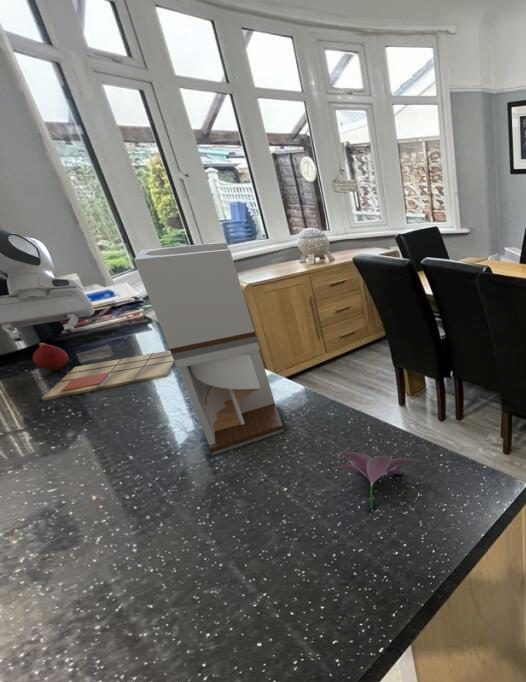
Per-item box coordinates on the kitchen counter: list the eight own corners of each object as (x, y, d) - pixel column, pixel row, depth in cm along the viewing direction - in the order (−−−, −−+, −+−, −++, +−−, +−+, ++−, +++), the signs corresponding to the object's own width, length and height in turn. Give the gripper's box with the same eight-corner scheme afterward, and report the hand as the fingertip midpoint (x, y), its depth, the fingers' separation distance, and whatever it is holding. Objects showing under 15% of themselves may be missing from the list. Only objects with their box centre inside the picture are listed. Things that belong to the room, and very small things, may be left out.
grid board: (44, 402, 88) (40, 397, 87) (76, 371, 103) (74, 366, 102) (167, 378, 98) (165, 373, 97) (181, 352, 112) (179, 347, 112)
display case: (213, 458, 69) (133, 259, 55) (211, 429, 77) (141, 249, 63) (285, 433, 75) (230, 249, 62) (276, 409, 83) (226, 241, 69)
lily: (433, 496, 61) (427, 434, 62) (376, 525, 51) (369, 449, 52) (377, 495, 66) (372, 438, 68) (315, 521, 56) (310, 453, 57)
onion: (69, 364, 107) (55, 336, 103) (76, 368, 104) (62, 340, 101) (38, 372, 102) (22, 344, 99) (44, 377, 99) (28, 349, 96)
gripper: (-33, 293, 98) (-26, 340, 94) (82, 278, 109) (92, 320, 106) (-17, 306, 103) (-9, 351, 99) (91, 291, 114) (101, 331, 111)
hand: (44, 335), depth 103 cm, fingers open, 8 cm apart
